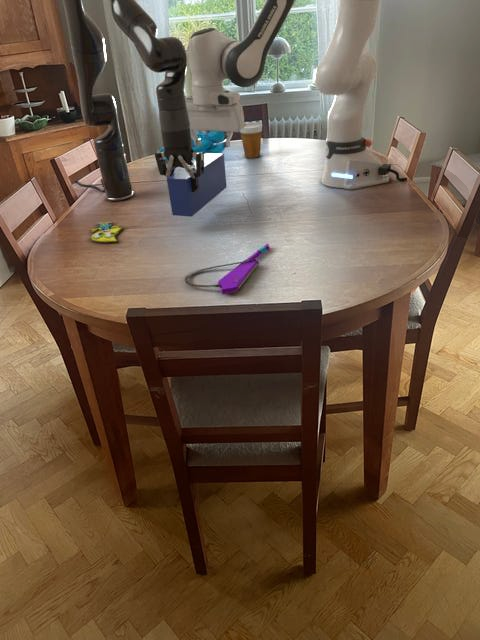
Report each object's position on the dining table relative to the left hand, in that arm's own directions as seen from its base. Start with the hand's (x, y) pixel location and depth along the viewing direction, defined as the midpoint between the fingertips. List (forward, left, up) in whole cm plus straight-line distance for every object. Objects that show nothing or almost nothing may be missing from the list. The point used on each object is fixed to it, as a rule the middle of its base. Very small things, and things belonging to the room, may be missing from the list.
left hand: (184, 190), depth 133 cm
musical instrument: (+30, -8, -12) cm, 33 cm away
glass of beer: (-47, +63, -12) cm, 80 cm away
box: (-5, +8, -6) cm, 11 cm away
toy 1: (-17, -19, -12) cm, 27 cm away
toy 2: (-63, +44, -12) cm, 78 cm away
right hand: (-9, +17, +7) cm, 20 cm away
